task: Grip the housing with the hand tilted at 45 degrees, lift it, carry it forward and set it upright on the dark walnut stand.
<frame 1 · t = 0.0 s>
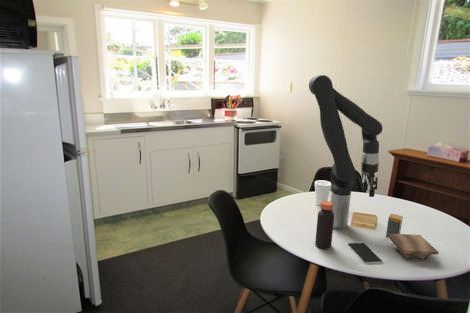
hand: (368, 193, 150), 17 cm above the table, tool pointing down, fingers open, 8 cm apart
stand: (410, 252, 131), on the table
smartphone: (363, 254, 130), on the table
bottle: (323, 245, 135), on the table
housing: (392, 236, 144), on the table
foam cup: (321, 204, 181), on the table
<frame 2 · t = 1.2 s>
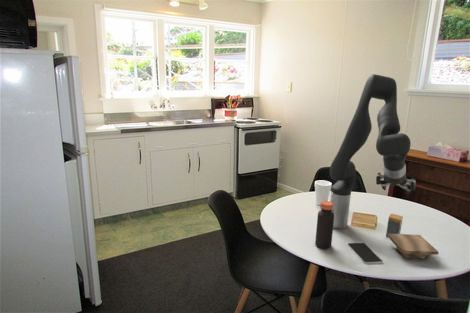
hand: (396, 190, 130), 26 cm above the table, tool tilted 45°, fingers open, 8 cm apart
nothing on the table moved.
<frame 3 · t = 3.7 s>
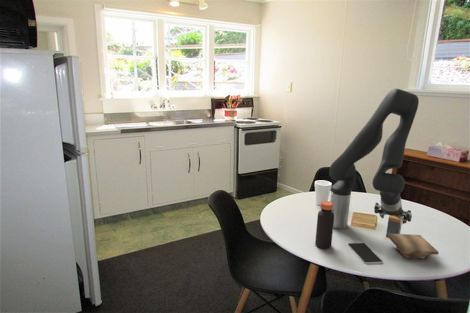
hand: (393, 219, 137), 11 cm above the table, tool tilted 45°, fingers open, 8 cm apart
nothing on the table moved.
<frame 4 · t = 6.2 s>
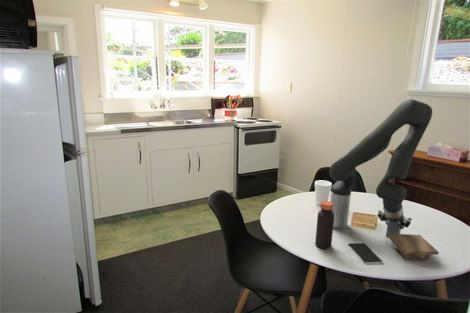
hand: (395, 225, 145), 5 cm above the table, tool tilted 45°, fingers closed on housing, 5 cm apart
housing: (392, 236, 144), on the table, touching gripper
everything else where it was.
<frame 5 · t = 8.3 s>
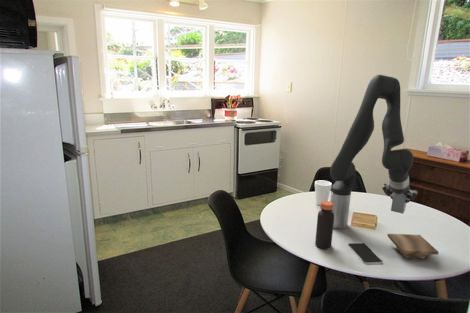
hand: (400, 199, 141), 18 cm above the table, tool tilted 45°, fingers closed on housing, 5 cm apart
housing: (398, 210, 140), point 13 cm above the table, touching gripper
everything else where it was.
when the fingers open (11 cm above the table, at t = 10.9 s): housing drops 1 cm, resting on stand.
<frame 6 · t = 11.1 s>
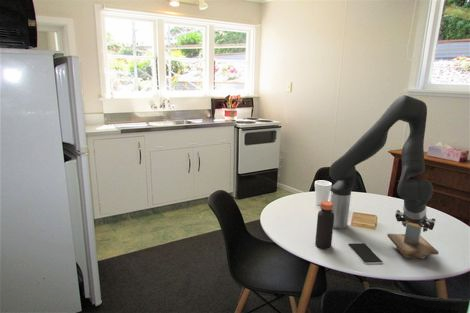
hand: (414, 227, 129), 11 cm above the table, tool tilted 45°, fingers open, 6 cm apart
housing: (411, 242, 130), point 5 cm above the table, touching stand
everything else where it was.
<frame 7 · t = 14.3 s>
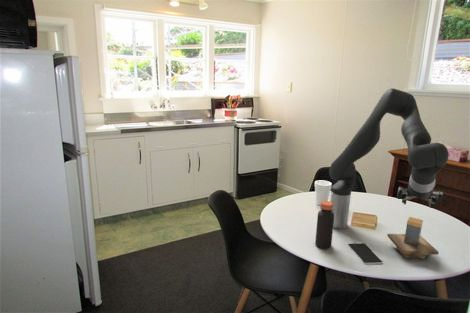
hand: (417, 203, 118), 25 cm above the table, tool tilted 45°, fingers open, 8 cm apart
nothing on the table moved.
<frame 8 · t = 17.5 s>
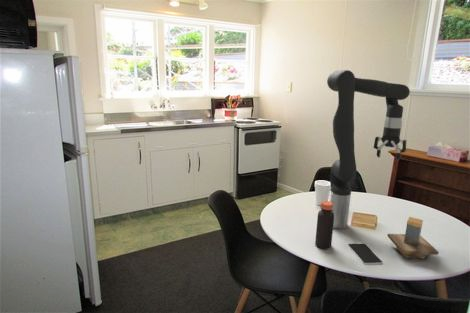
hand: (387, 158, 154), 33 cm above the table, tool pointing down, fingers open, 8 cm apart
nothing on the table moved.
at the end: housing inside the target area on the stand (0.1 cm from its centre), point 4.8 cm above the stand's base; housing tilted 0°; housing touching stand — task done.
